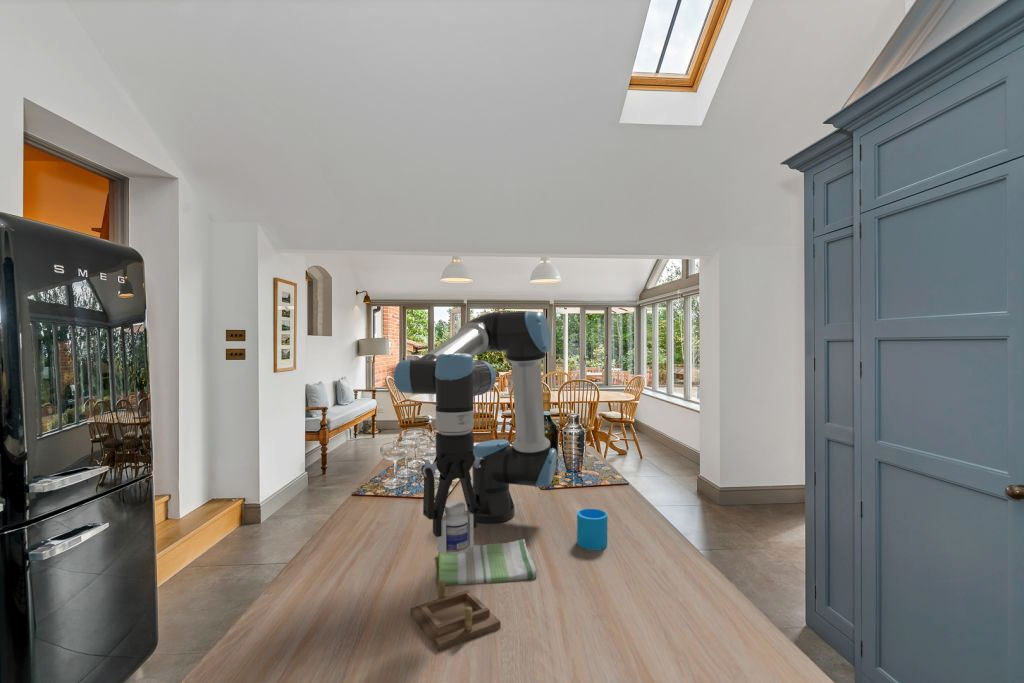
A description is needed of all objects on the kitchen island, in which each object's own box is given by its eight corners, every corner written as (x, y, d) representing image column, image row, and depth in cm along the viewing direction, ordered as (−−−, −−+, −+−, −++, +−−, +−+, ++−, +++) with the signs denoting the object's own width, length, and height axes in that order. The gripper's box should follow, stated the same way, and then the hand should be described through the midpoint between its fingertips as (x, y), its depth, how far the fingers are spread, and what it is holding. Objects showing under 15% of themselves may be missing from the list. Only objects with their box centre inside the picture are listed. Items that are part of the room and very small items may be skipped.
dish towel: (537, 581, 114) (537, 566, 113) (437, 589, 110) (437, 573, 110) (525, 549, 131) (525, 536, 130) (438, 555, 127) (438, 542, 127)
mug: (611, 548, 130) (611, 518, 130) (582, 551, 129) (582, 520, 129) (596, 531, 142) (596, 503, 142) (569, 533, 140) (569, 504, 140)
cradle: (410, 613, 99) (410, 588, 99) (467, 595, 107) (466, 571, 106) (439, 650, 88) (438, 622, 88) (500, 627, 95) (500, 600, 95)
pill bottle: (442, 543, 99) (442, 500, 99) (468, 542, 100) (468, 499, 100) (441, 555, 94) (440, 509, 94) (468, 554, 95) (468, 509, 95)
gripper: (418, 440, 89) (419, 567, 89) (503, 429, 99) (504, 543, 99) (403, 433, 95) (404, 552, 95) (485, 423, 105) (485, 531, 105)
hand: (455, 547), depth 97 cm, fingers closed on pill bottle, 5 cm apart
